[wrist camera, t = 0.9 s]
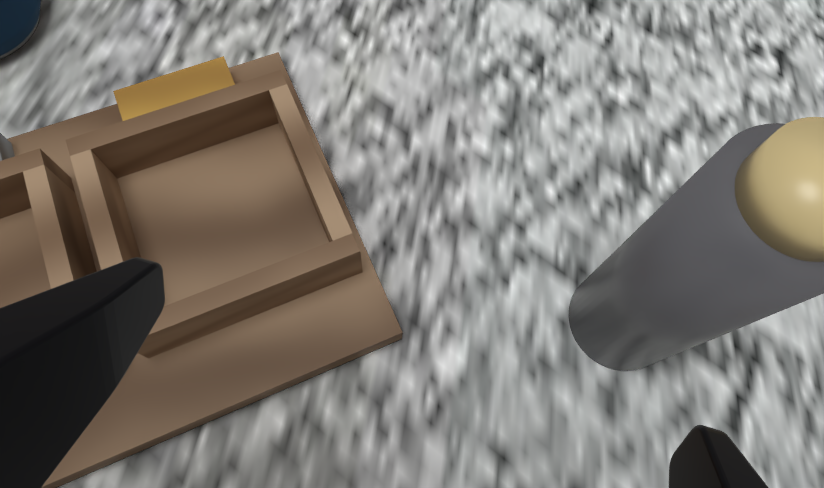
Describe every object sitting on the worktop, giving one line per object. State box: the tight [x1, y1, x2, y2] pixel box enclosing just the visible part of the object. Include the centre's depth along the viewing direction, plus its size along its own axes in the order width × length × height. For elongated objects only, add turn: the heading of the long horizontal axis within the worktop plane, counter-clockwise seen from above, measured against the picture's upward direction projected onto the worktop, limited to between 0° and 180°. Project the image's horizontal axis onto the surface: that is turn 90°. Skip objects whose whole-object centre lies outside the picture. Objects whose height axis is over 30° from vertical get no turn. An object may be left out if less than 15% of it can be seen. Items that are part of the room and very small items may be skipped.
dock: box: [0, 53, 402, 488], centre depth 24 cm, size 15×20×4 cm
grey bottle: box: [569, 117, 824, 371], centre depth 19 cm, size 4×4×13 cm
